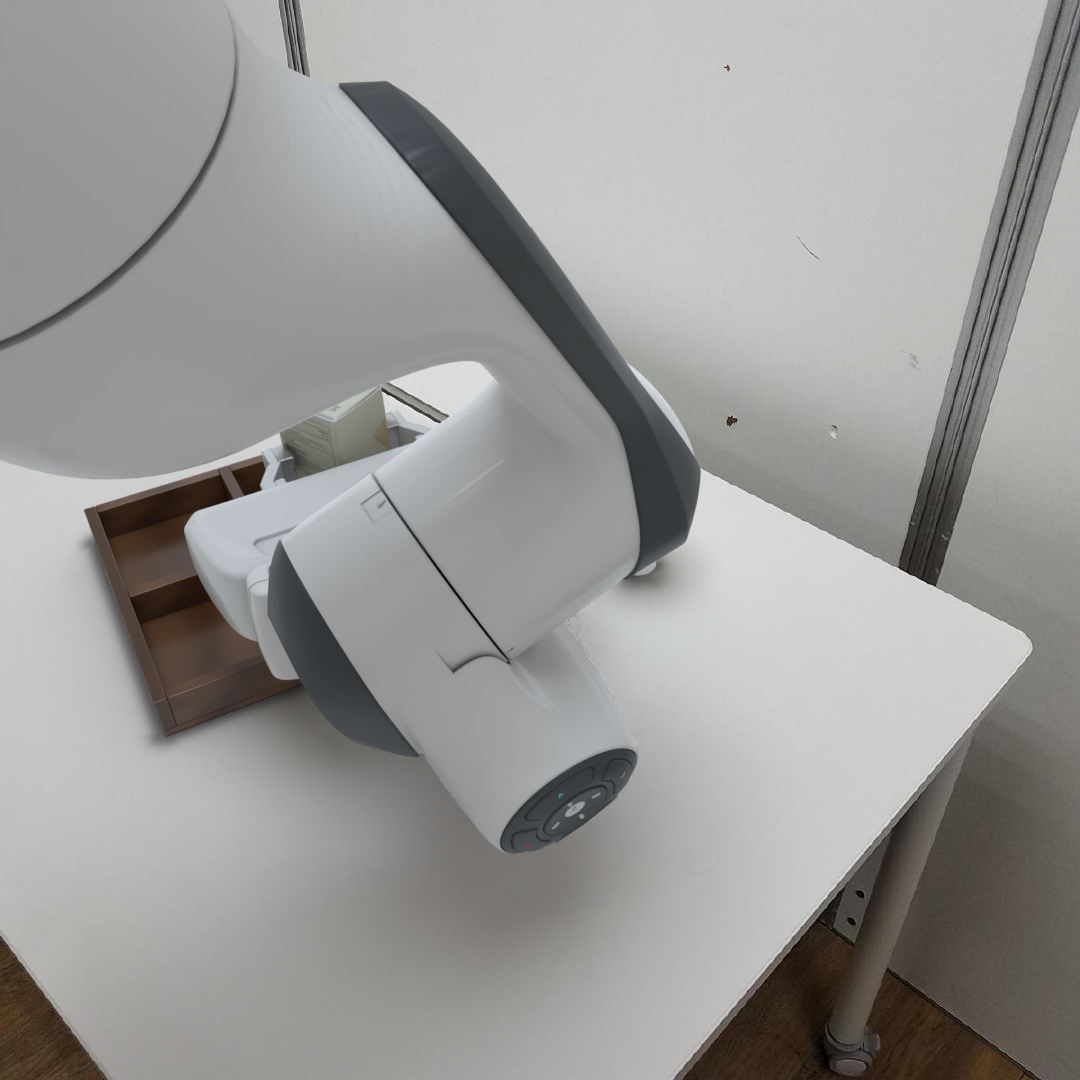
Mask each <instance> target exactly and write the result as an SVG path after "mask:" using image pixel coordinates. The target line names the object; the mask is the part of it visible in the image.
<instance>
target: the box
mask: <svg viewBox="0 0 1080 1080" xmlns="http://www.w3.org/2000/svg"><path fill="white" fill-rule="evenodd" d="M385 408H386V407H385V402H384V396H383V387H382V385H380V386H377V387H375V388H373V389H370V390H368V391H366V392H363V393H361V394H358V395H356V396H354V397H352V398H350V399H348V400H346V401H344V402H341V403H339V404H337V405H335V406H333V407H331V408H329V409H327V410H325V411H323V412H321V413H319V414H317V415H315V416H313V417H311V418H309V419H307V420H304V421H302V422H300V423H298V424H296V425H294V426H292V427H290V428H288V429H286V430H284V431H282V432H280V433H279V437H280V441H281V445H283V444H286V445H287V446H288V450H289V451H291V453H292V455H293V456H294V460H295V464H296V467H295V469H296V471H297V475H298V479H300V478H303V477H307V476H310V475H313V474H316V473H319V472H322V471H325V470H329V469H332V468H335V467H338V466H341V465H344V464H348V463H351V462H354V461H357V460H360V459H363V458H367V457H370V456H373V455H376V454H379V453H382V452H386V451H389V450H391V447H390V441H389V435H388V428H387V421H386V414H385V413H386V409H385Z"/></svg>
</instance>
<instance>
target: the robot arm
mask: <svg viewBox="0 0 1080 1080" xmlns="http://www.w3.org/2000/svg"><path fill="white" fill-rule="evenodd" d="M588 306H589V305H587V303H586V302H585V301H584V299H583V298H582V296H581V295H580V293H579V292H578V290H577V289H576V288H575V286H574V285H573V283H572V282H571V281H570V279H569V277H568V276H567V275H566V274H565V271H563V269H562V268H561V266H560V265H559V264H558V262H557V261H556V259H555V258H554V256H553V255H552V253H551V252H550V250H549V249H548V248H547V247H546V244H545V243H544V242H543V241H542V239H541V237H540V236H539V235H538V234H537V232H536V231H535V229H534V228H533V226H530V225H529V223H528V222H527V221H526V219H525V218H524V217H523V215H522V214H521V212H520V211H519V210H518V208H517V207H516V206H515V204H514V203H513V202H512V201H511V199H510V198H509V197H508V195H507V194H506V193H505V192H504V190H503V189H502V188H501V187H500V185H499V184H498V183H497V181H496V180H495V179H494V177H493V176H491V174H490V173H489V172H488V171H487V169H486V168H485V167H484V166H483V165H482V164H481V162H480V161H479V160H478V159H477V158H476V156H474V154H473V153H472V152H471V151H470V150H469V149H468V147H466V146H465V144H464V143H463V142H462V141H461V140H460V139H459V138H458V137H457V135H455V134H454V132H452V131H451V130H450V128H448V126H446V124H444V123H443V122H442V121H441V120H440V119H439V118H438V117H437V116H435V114H434V113H433V112H431V111H430V110H429V109H428V108H427V106H424V105H423V104H422V103H420V102H419V101H418V100H417V99H415V98H414V97H412V96H411V95H410V94H409V93H407V92H406V91H404V90H402V89H401V88H400V87H397V86H395V85H394V84H392V83H391V82H389V81H388V80H378V81H354V82H338V86H336V85H333V84H329V83H326V82H323V81H320V80H318V79H315V78H312V77H310V76H307V75H305V74H303V73H300V72H298V71H297V70H294V69H292V68H290V67H289V66H286V65H285V64H283V63H281V62H280V61H278V60H276V59H275V58H274V57H272V56H271V55H269V53H267V52H266V51H265V50H264V49H262V47H260V46H259V45H258V44H257V43H256V42H255V41H254V40H253V39H252V37H250V36H249V34H248V33H247V32H246V31H245V30H244V28H243V27H242V25H241V24H240V23H239V22H238V20H237V19H236V17H235V15H234V14H233V12H232V11H231V9H230V7H229V6H228V4H227V2H226V0H0V461H1V462H4V463H6V464H10V465H13V466H17V467H21V468H24V469H28V470H31V471H36V472H39V473H44V474H49V475H53V476H58V477H66V478H73V479H82V480H83V479H84V480H102V481H103V480H105V481H107V480H127V479H128V480H129V479H140V478H150V477H155V476H156V477H157V476H162V475H167V474H173V473H176V472H181V471H185V470H188V469H193V468H196V467H199V466H203V465H207V464H210V463H213V462H216V461H218V460H220V459H225V458H227V457H229V456H232V455H236V454H238V453H240V452H242V451H244V450H247V449H249V448H251V447H253V446H256V445H258V444H260V443H262V442H264V441H267V440H269V439H270V438H272V437H274V436H276V435H279V434H280V432H282V431H284V430H286V429H288V428H290V427H292V426H294V425H296V424H298V423H300V422H302V421H304V420H307V419H309V418H311V417H313V416H315V415H317V414H319V413H321V412H323V411H325V410H327V409H329V408H331V407H333V406H335V405H337V404H339V403H341V402H344V401H346V400H348V399H350V398H352V397H354V396H356V395H358V394H361V393H363V392H366V391H368V390H370V389H373V388H375V387H377V386H382V385H384V384H386V383H390V382H392V381H395V380H398V379H400V378H403V377H406V376H409V375H411V374H415V373H417V372H421V371H424V370H426V369H430V368H433V367H438V366H442V365H446V364H454V363H461V362H474V363H478V364H479V365H481V366H482V367H483V368H484V369H485V371H487V373H488V374H490V376H492V377H493V379H492V380H491V381H490V383H489V384H487V386H485V388H483V390H481V391H480V393H479V394H477V395H476V396H475V397H473V399H471V400H470V401H468V402H467V403H466V404H465V405H463V406H461V407H460V408H459V409H457V410H456V411H455V412H454V413H452V414H451V415H450V416H448V417H447V418H444V420H443V421H440V423H438V424H437V425H435V426H434V427H433V428H432V427H429V426H425V425H421V424H419V423H416V422H413V421H407V420H406V419H405V417H404V416H403V415H402V414H401V411H399V409H394V410H391V411H389V412H385V414H386V421H387V428H388V435H389V441H390V447H391V450H389V451H386V452H382V453H379V454H376V455H373V456H370V457H367V458H363V459H360V460H357V461H354V462H351V463H348V464H344V465H341V466H338V467H335V468H332V469H329V470H325V471H322V472H319V473H316V474H313V475H310V476H307V477H303V478H300V479H298V475H297V471H296V469H295V467H296V464H295V460H294V456H293V455H292V453H291V451H289V450H288V446H287V445H286V444H283V445H282V444H279V445H276V446H271V447H270V448H266V449H262V450H261V452H260V453H261V455H262V457H263V462H264V467H265V470H266V471H265V474H264V476H263V479H262V481H261V484H260V487H261V491H259V492H256V493H253V494H250V495H247V496H244V497H240V498H237V499H234V500H231V501H228V502H225V503H221V504H218V505H215V506H212V507H208V508H205V509H202V510H199V511H197V512H195V513H194V514H193V515H192V516H191V517H190V519H189V521H188V522H187V524H186V526H185V528H184V533H185V538H186V542H187V545H188V549H189V552H190V555H191V558H192V561H193V564H194V567H195V569H196V572H197V574H198V576H199V578H200V581H201V582H202V584H203V586H204V588H205V590H206V591H207V593H208V595H209V596H210V598H211V600H212V601H213V603H214V604H215V606H216V607H217V609H218V610H219V611H220V613H221V614H222V616H223V617H224V618H225V619H226V621H227V622H228V623H229V624H230V626H231V627H232V628H233V629H234V630H235V631H236V632H238V633H239V634H240V635H242V636H243V637H245V638H247V639H250V640H253V641H257V642H258V645H259V647H260V650H261V652H262V655H263V657H264V659H265V662H266V664H267V666H268V668H269V669H270V671H271V673H272V674H273V675H274V676H275V677H276V678H278V679H282V680H293V679H300V681H301V683H302V684H301V685H302V686H303V688H304V690H305V691H306V693H307V694H308V696H309V698H310V699H311V701H312V703H313V704H314V706H315V707H316V708H317V710H318V711H319V712H320V714H321V715H322V716H323V717H324V718H325V719H326V721H328V722H329V723H330V724H331V726H333V727H334V729H335V730H336V731H338V732H339V733H340V734H342V735H343V736H344V737H346V738H347V739H349V740H351V741H353V742H355V743H357V744H359V745H363V746H366V747H369V748H372V749H376V750H379V751H382V752H386V753H390V754H395V755H398V756H403V757H409V758H420V756H422V755H423V756H424V758H425V759H426V761H427V763H428V764H429V766H430V767H431V769H432V770H433V772H434V773H435V775H436V776H437V778H438V780H439V781H440V782H441V784H442V785H443V786H444V788H445V789H446V791H447V792H448V794H449V795H450V796H451V797H452V799H453V800H454V801H455V803H456V804H457V806H458V807H459V808H460V809H461V810H462V812H463V813H464V814H465V816H466V817H467V818H468V819H469V820H470V822H471V823H472V824H473V826H474V827H475V828H476V829H477V830H478V831H479V832H480V834H481V835H482V836H483V837H484V838H485V839H486V840H487V841H488V842H489V844H491V845H492V846H493V847H494V848H495V849H496V850H498V851H500V852H502V853H505V854H510V855H511V854H513V855H514V854H522V853H530V852H536V851H539V850H541V849H544V848H546V847H547V846H550V845H553V844H556V843H559V842H561V841H562V840H564V839H566V837H568V836H570V835H571V834H572V833H574V832H576V831H578V829H580V828H581V827H583V826H584V825H586V824H587V823H589V822H590V821H591V820H592V819H593V818H595V817H596V816H597V815H598V814H599V813H601V812H602V811H603V810H605V809H606V808H607V807H608V806H609V805H611V804H612V803H613V802H614V801H615V800H616V799H617V798H618V796H619V794H620V793H621V792H622V790H624V788H625V787H626V786H627V785H628V783H629V781H630V779H631V777H632V775H633V773H634V771H635V769H636V767H637V764H638V759H639V749H638V746H637V744H636V741H635V739H634V736H633V734H632V732H631V730H630V728H629V726H628V724H627V722H626V720H625V717H624V715H623V713H622V712H621V710H620V708H619V706H618V704H617V703H616V701H615V699H614V697H613V695H612V693H611V692H610V690H609V688H608V687H607V685H606V683H605V681H604V680H603V678H602V676H601V675H600V673H599V671H598V670H597V669H596V666H595V665H594V664H593V662H592V661H591V659H590V658H589V656H588V655H587V653H586V652H585V650H584V648H583V647H582V646H581V644H580V643H579V642H578V639H576V637H575V636H574V634H573V633H572V632H571V630H570V629H569V628H568V627H567V625H566V624H565V622H566V621H568V620H569V619H571V618H572V617H573V616H574V615H576V614H577V613H579V612H580V611H581V610H583V609H585V608H586V607H587V606H588V605H589V604H591V603H593V602H594V601H596V599H598V598H599V597H600V596H602V595H603V594H604V593H606V592H607V591H609V590H610V589H611V588H613V587H614V586H615V585H617V584H619V582H621V581H624V580H628V579H630V578H632V577H633V576H635V575H634V574H636V573H638V572H639V571H641V570H642V569H644V568H646V567H647V566H649V565H651V564H652V563H654V562H655V561H657V562H658V561H659V560H661V559H662V558H663V557H665V556H667V555H669V554H671V553H672V552H673V551H675V550H677V549H678V548H680V547H681V546H683V545H684V544H686V542H687V540H688V537H689V534H690V530H691V528H692V525H693V522H694V517H695V513H696V509H697V504H698V500H699V495H700V487H701V486H700V485H701V476H702V469H701V466H700V464H699V462H698V461H697V458H696V455H695V451H694V448H693V445H692V443H691V440H690V437H689V436H688V434H687V431H686V430H685V428H684V426H683V424H682V422H681V421H680V419H679V417H678V416H677V414H676V413H675V411H674V409H673V408H672V406H670V404H669V403H668V402H667V401H666V399H665V398H664V396H662V394H661V393H660V392H659V391H658V390H657V389H656V387H655V386H654V385H653V384H652V383H651V382H650V381H649V380H648V379H647V378H646V377H645V376H644V375H643V374H642V373H640V372H639V371H638V370H637V369H636V368H634V367H633V366H632V365H631V364H629V363H628V362H627V361H626V360H625V358H624V357H623V356H622V354H621V353H620V351H619V350H618V348H617V347H616V345H615V344H614V343H613V341H612V339H611V338H610V337H609V335H608V334H607V333H606V331H605V329H604V328H603V327H602V326H601V324H600V322H599V321H598V320H597V318H596V316H595V315H594V313H593V312H592V311H591V309H590V307H588Z"/></svg>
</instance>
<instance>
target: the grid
mask: <svg viewBox="0 0 1080 1080" xmlns="http://www.w3.org/2000/svg"><path fill="white" fill-rule="evenodd" d="M265 471H266V470H265V467H264V462H263V457H262V454H260V455H257V456H253V457H250V458H247V459H243V460H239V461H237V462H233V463H231V464H227V465H224V466H220V467H218V468H215V469H214V468H213V469H211V470H207V471H205V472H201V473H198V474H193V475H191V476H188V477H184V478H182V479H178V480H174V481H171V482H168V483H166V484H162V485H159V486H155V487H152V488H149V489H146V490H142V491H139V492H135V493H132V494H130V495H129V494H128V495H126V496H123V497H120V498H116V499H113V500H109V501H106V502H103V503H100V504H97V505H94V506H90V507H87V508H84V509H83V512H84V516H85V518H86V520H87V521H86V522H87V523H88V527H89V529H90V532H91V534H92V537H93V540H94V543H95V546H96V549H97V552H98V554H99V556H100V560H101V563H102V565H103V568H104V571H105V574H106V577H107V579H108V582H109V584H110V588H111V590H112V593H113V596H114V598H115V601H116V603H117V607H118V610H119V612H120V615H121V619H122V621H123V623H124V626H125V629H126V632H127V634H128V638H129V639H130V643H131V645H132V649H133V651H134V654H135V657H136V659H137V663H138V665H139V668H140V671H141V673H142V676H143V680H144V682H145V685H146V687H147V690H148V693H149V696H150V699H151V701H152V704H153V707H154V710H155V712H156V715H157V717H158V720H159V723H160V726H161V728H162V731H163V733H164V736H165V737H168V736H171V735H173V734H175V733H178V732H181V731H184V730H185V729H188V728H191V727H194V726H196V725H199V724H202V723H204V722H207V721H209V720H212V719H215V718H217V717H220V716H222V715H225V714H228V713H231V712H233V711H236V710H238V709H241V708H243V707H246V706H248V705H251V704H253V703H256V702H258V701H261V700H264V699H266V698H269V697H273V696H274V695H277V694H279V693H282V692H284V691H287V690H290V689H292V688H294V687H298V686H300V685H303V684H302V683H301V681H300V679H293V680H282V679H278V678H276V677H275V676H274V675H273V674H272V673H271V671H270V669H269V668H268V666H267V664H266V662H265V659H264V657H263V655H262V652H261V650H260V647H259V645H258V642H257V641H253V640H250V639H247V638H245V637H243V636H242V635H240V634H239V633H238V632H236V631H235V630H234V629H233V628H232V627H231V626H230V624H229V623H228V622H227V621H226V619H225V618H224V617H223V616H222V614H221V613H220V611H219V610H218V609H217V607H216V606H215V604H214V603H213V601H212V600H211V598H210V596H209V595H208V593H207V591H206V590H205V588H204V586H203V584H202V582H201V581H200V578H199V576H198V574H197V572H196V569H195V567H194V564H193V561H192V558H191V555H190V552H189V549H188V545H187V542H186V538H185V533H184V528H185V526H186V524H187V522H188V521H189V519H190V517H191V516H192V515H193V514H194V513H195V512H197V511H199V510H202V509H205V508H208V507H212V506H215V505H218V504H221V503H225V502H228V501H231V500H234V499H237V498H240V497H244V496H247V495H250V494H253V493H256V492H259V491H261V487H260V484H261V481H262V479H263V476H264V474H265Z"/></svg>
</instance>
